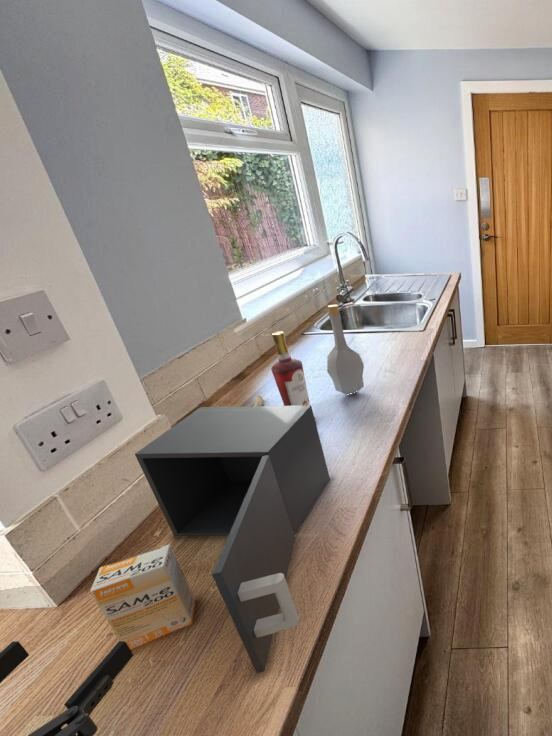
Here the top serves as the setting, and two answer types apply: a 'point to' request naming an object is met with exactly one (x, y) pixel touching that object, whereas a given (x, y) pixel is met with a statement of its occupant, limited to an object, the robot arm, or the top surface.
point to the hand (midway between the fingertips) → (74, 647)
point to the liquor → (289, 375)
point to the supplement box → (144, 596)
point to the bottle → (343, 359)
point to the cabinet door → (258, 566)
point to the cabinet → (233, 465)
